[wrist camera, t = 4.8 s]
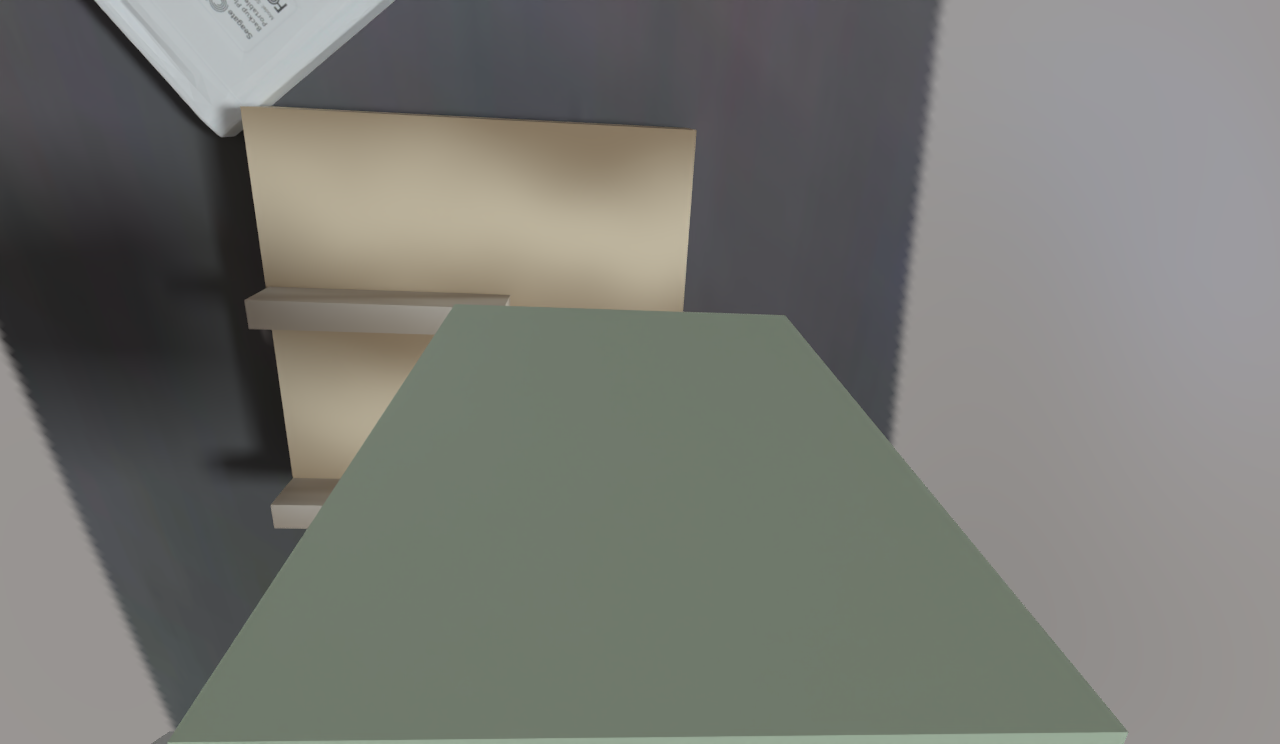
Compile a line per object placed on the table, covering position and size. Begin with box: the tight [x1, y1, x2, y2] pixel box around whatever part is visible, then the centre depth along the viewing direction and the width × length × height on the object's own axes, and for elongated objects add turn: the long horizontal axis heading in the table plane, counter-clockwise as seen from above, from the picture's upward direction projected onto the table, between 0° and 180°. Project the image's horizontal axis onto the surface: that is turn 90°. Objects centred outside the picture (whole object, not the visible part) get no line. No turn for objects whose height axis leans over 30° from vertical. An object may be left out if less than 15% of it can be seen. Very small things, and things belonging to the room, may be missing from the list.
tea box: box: [167, 304, 1128, 744], centre depth 7 cm, size 4×6×6 cm, turn 177°
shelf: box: [240, 106, 696, 529], centre depth 21 cm, size 12×12×4 cm
